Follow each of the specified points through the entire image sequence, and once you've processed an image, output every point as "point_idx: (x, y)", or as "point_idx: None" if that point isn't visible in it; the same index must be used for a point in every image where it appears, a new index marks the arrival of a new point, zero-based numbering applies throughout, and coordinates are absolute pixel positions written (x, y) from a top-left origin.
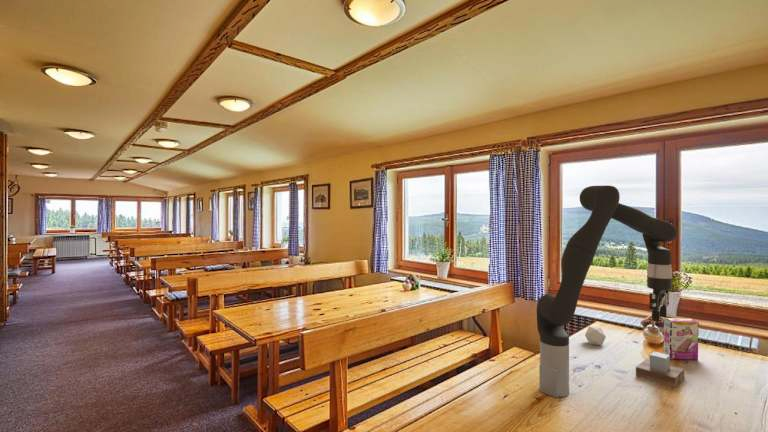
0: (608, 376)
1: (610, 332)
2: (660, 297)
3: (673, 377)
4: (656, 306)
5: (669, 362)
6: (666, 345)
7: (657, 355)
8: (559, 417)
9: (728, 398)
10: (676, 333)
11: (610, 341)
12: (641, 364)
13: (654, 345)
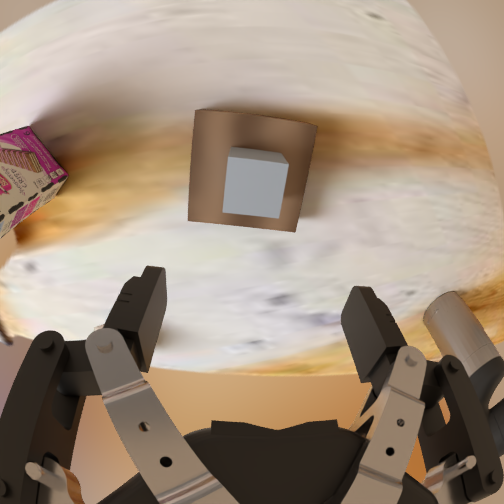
0: (335, 268)
1: (30, 313)
2: (405, 492)
3: (315, 130)
4: (467, 388)
5: (235, 151)
6: (41, 200)
7: (268, 194)
8: (497, 276)
9: (286, 11)
10: (7, 192)
11: (75, 308)
12: (257, 223)
13: (16, 230)
